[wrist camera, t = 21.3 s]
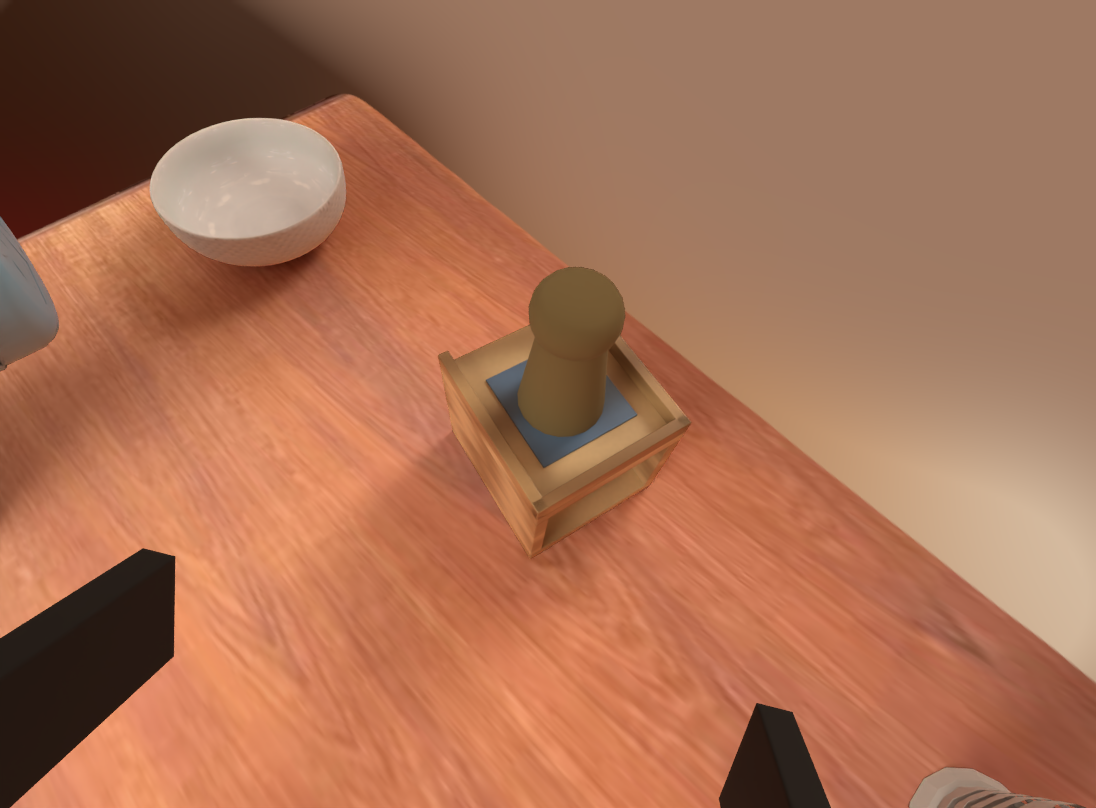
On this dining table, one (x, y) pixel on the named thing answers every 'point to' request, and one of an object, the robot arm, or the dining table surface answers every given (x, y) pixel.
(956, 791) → the french press
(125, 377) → the dining table surface
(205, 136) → the cereal bowl
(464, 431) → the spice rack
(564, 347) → the olive pawn piece
